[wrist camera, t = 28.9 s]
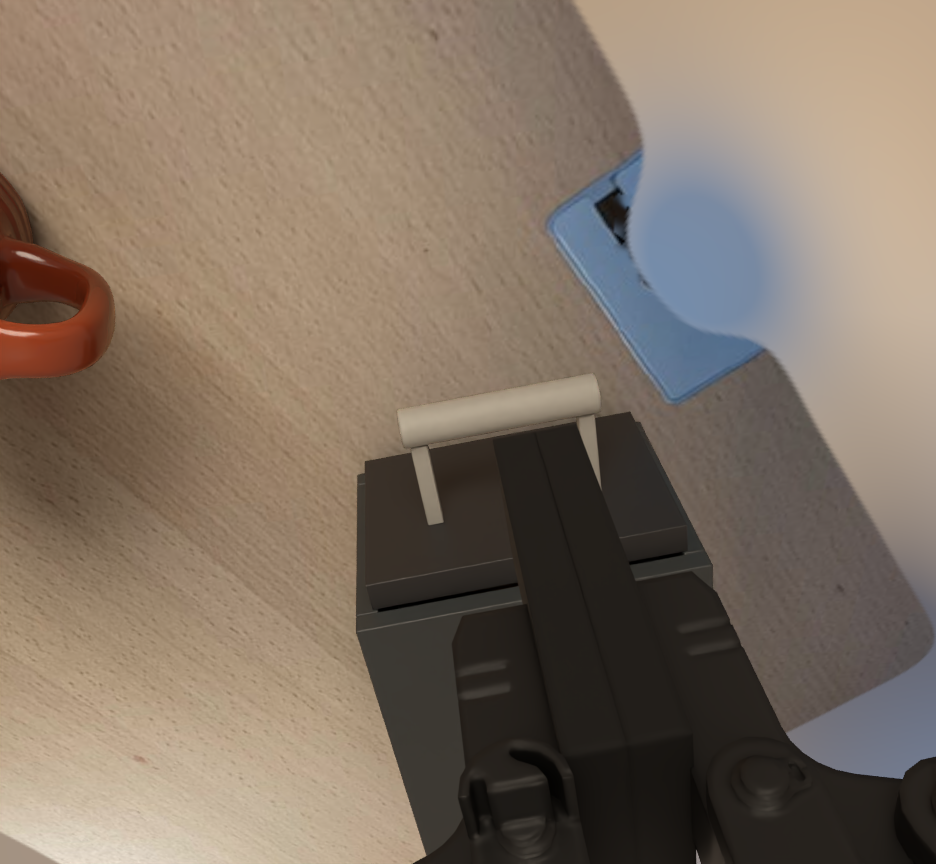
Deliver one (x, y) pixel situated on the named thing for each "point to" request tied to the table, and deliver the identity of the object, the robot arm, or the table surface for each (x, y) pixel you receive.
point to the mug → (47, 280)
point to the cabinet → (448, 674)
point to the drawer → (497, 492)
